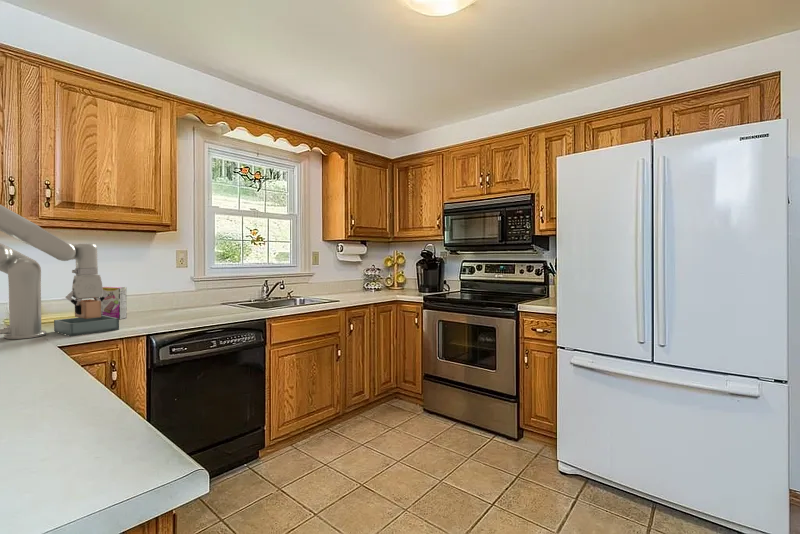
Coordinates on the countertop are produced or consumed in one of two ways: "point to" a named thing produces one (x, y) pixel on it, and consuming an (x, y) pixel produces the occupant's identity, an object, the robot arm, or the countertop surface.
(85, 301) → the box
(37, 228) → the robot arm
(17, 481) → the countertop surface
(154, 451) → the countertop surface
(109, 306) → the candy bar box
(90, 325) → the dark grey tray
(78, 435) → the countertop surface
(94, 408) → the countertop surface
